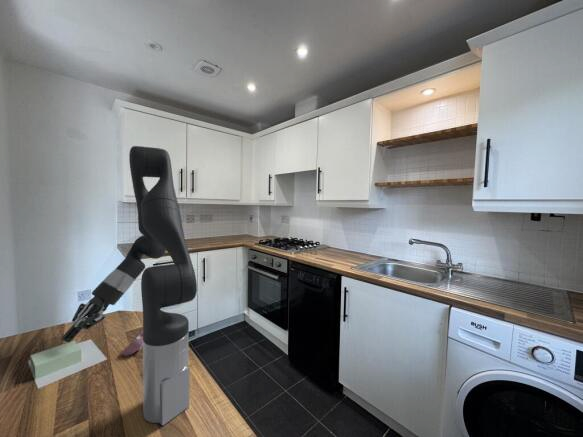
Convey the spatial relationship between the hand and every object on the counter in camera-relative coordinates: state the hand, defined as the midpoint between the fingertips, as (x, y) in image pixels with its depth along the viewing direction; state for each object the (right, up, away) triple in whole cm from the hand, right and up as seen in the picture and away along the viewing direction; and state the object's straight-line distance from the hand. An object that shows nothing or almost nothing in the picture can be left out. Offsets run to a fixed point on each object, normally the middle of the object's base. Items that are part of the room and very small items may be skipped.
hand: (65, 340), depth 67 cm
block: (+1, -4, +3) cm, 5 cm away
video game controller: (+16, -7, +9) cm, 20 cm away
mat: (0, -7, +1) cm, 7 cm away
